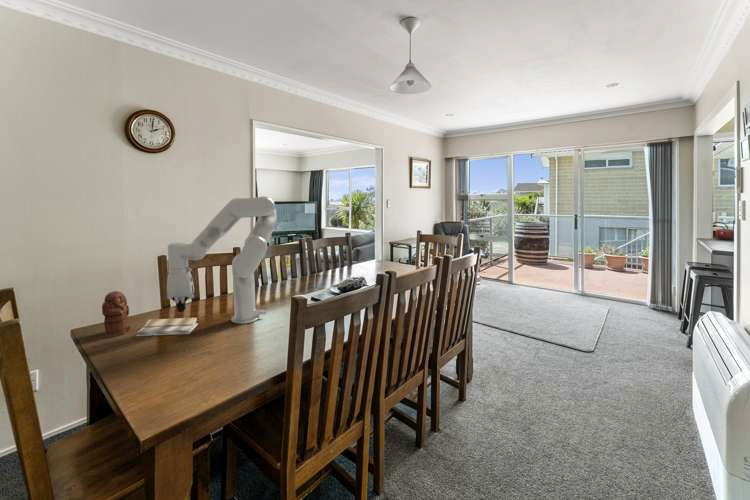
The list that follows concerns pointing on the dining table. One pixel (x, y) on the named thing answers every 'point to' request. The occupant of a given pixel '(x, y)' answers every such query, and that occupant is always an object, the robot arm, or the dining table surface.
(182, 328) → the laid board
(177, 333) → the underlay
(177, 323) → the plank
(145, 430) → the dining table surface
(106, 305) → the wooden figurine
